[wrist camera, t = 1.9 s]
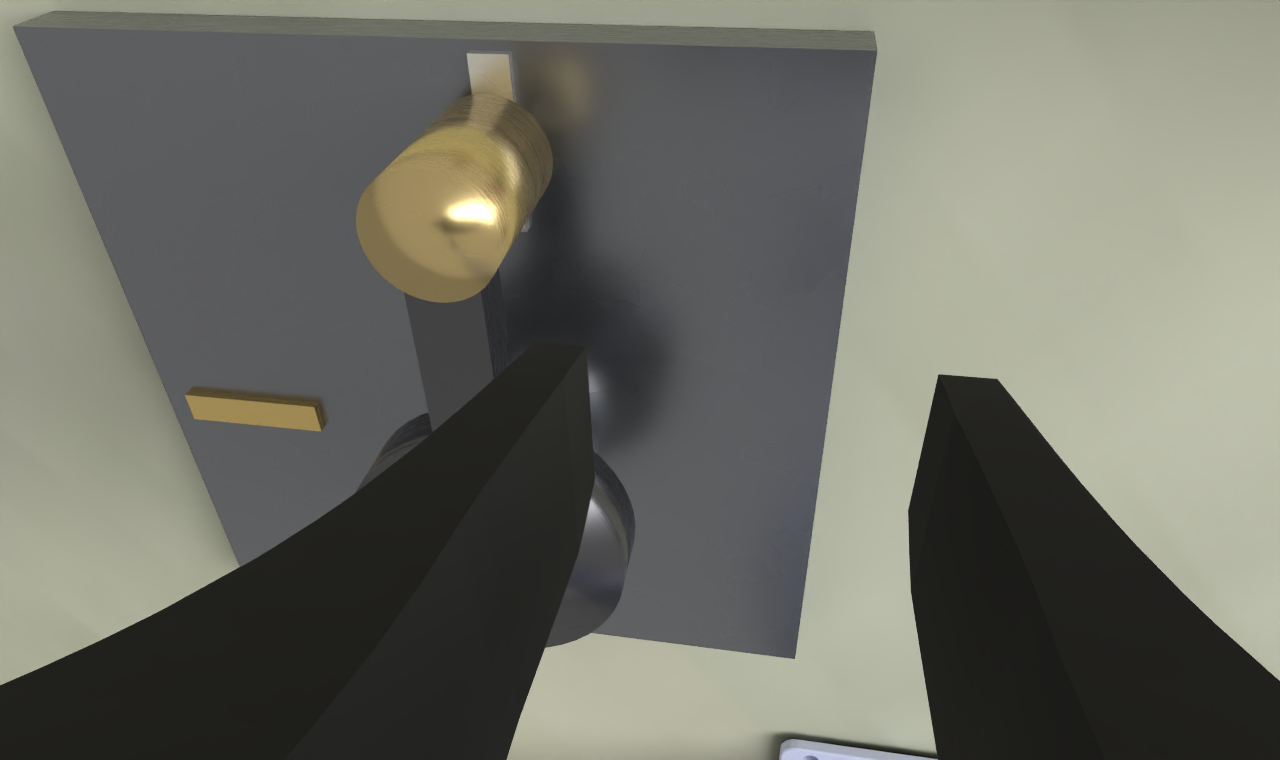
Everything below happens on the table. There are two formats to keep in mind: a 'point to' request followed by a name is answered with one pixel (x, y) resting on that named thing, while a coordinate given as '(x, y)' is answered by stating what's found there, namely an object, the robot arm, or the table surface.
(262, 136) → the lever base
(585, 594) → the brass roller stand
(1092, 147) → the table surface
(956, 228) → the table surface
